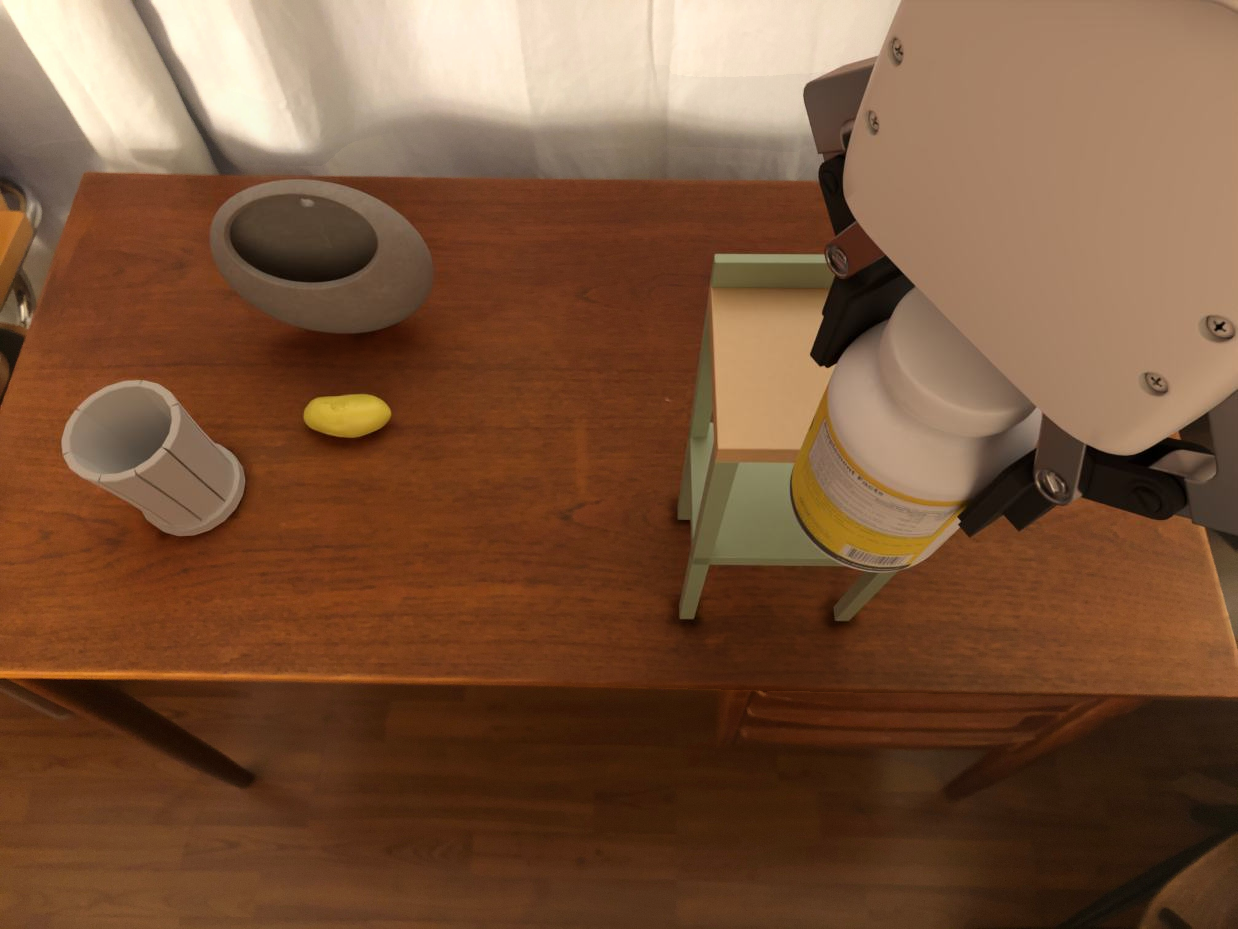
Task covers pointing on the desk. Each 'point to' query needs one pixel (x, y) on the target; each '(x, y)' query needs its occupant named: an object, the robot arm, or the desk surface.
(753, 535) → the mint side table
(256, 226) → the planter
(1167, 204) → the robot arm
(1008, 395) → the pill bottle
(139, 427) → the cup
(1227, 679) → the desk surface
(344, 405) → the yellow potato
